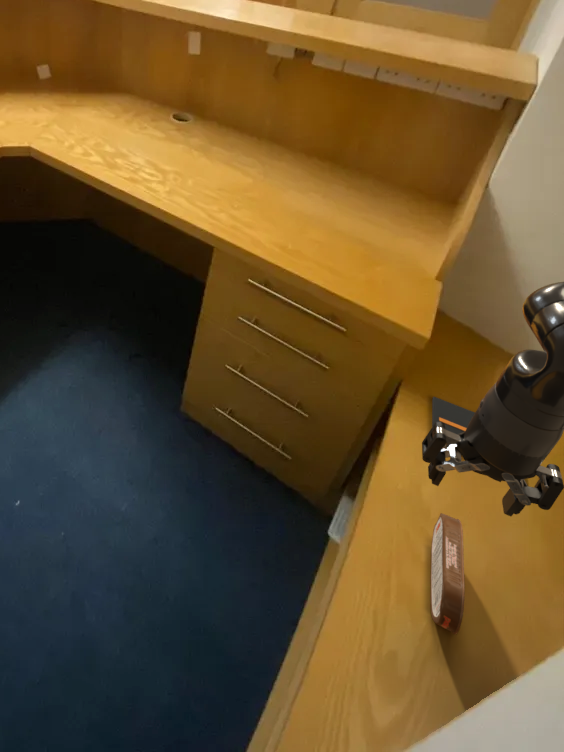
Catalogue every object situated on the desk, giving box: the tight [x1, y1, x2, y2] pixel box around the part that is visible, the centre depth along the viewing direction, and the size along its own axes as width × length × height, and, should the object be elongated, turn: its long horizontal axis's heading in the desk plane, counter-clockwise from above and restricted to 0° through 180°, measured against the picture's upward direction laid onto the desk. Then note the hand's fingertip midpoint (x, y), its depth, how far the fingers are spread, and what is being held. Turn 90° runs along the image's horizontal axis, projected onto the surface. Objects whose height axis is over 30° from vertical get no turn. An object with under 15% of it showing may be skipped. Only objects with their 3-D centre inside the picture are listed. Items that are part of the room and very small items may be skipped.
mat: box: [431, 396, 476, 447], centre depth 97 cm, size 14×10×1 cm
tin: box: [430, 512, 466, 635], centre depth 76 cm, size 15×3×8 cm, turn 151°
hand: (469, 493), depth 70 cm, fingers open, 8 cm apart
